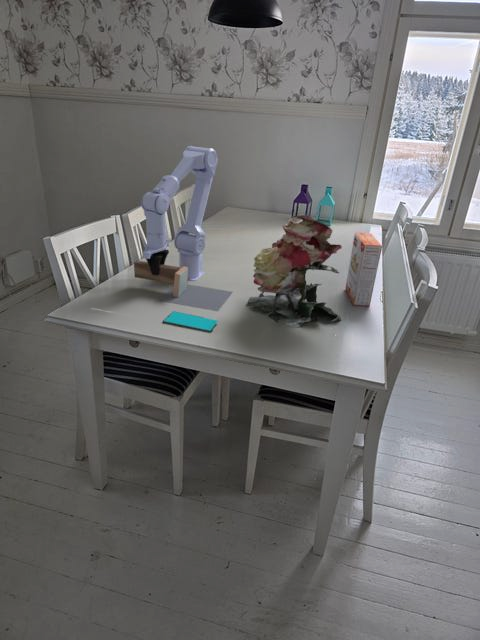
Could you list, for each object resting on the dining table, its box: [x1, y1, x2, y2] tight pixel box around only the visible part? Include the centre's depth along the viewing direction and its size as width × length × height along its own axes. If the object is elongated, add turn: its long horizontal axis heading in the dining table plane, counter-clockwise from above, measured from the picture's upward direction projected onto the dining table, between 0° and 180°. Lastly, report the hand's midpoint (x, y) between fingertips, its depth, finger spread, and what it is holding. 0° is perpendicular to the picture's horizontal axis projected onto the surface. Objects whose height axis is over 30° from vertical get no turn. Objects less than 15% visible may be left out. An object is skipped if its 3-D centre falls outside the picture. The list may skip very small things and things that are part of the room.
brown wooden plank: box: [133, 260, 180, 285], centre depth 138 cm, size 2×15×5 cm, turn 74°
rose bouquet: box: [246, 213, 343, 328], centre depth 127 cm, size 26×29×30 cm
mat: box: [157, 283, 234, 312], centre depth 138 cm, size 16×20×1 cm
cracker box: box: [344, 232, 383, 307], centre depth 141 cm, size 14×6×21 cm, turn 178°
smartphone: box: [162, 311, 219, 333], centre depth 122 cm, size 7×1×15 cm
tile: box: [173, 266, 188, 297], centre depth 137 cm, size 7×2×8 cm, turn 164°
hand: (157, 273), depth 138 cm, fingers closed on brown wooden plank, 2 cm apart
